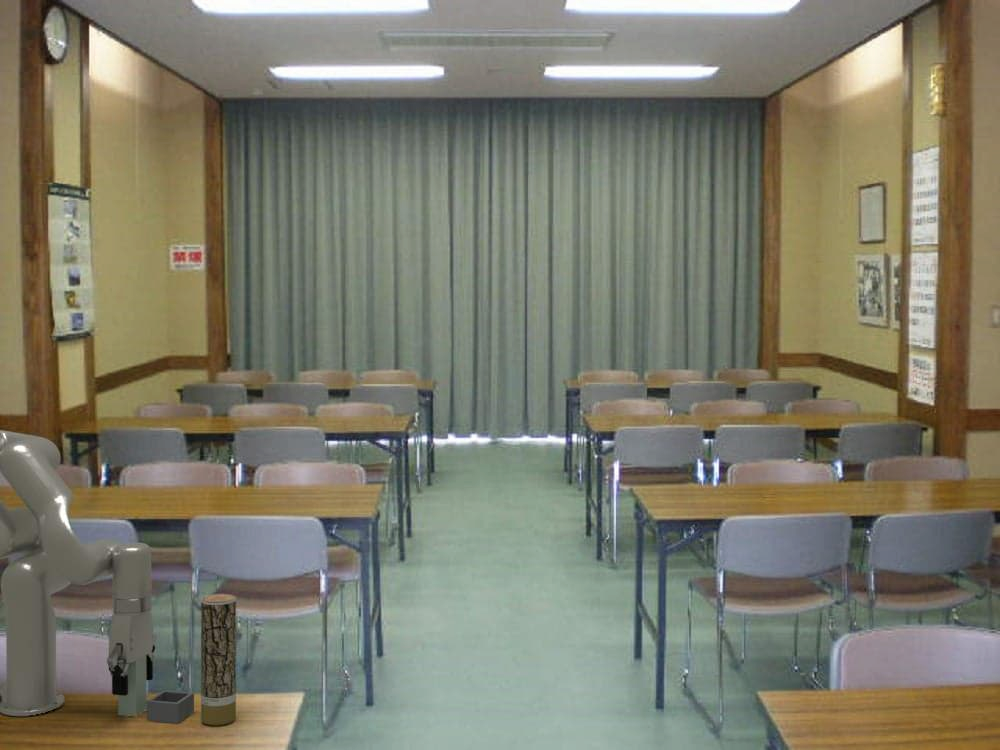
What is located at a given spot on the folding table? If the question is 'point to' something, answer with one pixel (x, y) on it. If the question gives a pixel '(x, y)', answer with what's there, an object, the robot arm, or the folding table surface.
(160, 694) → the socket block
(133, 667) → the peg
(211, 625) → the bark log chew toy
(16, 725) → the folding table surface
